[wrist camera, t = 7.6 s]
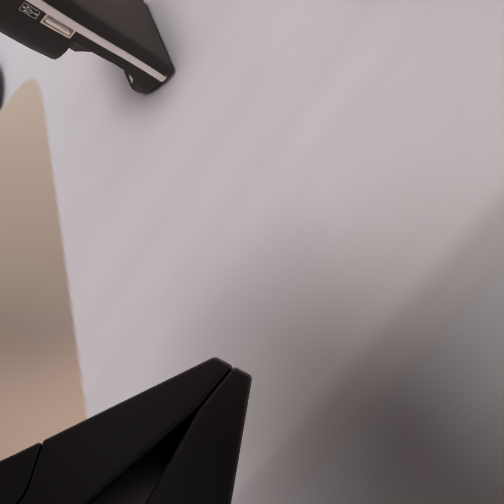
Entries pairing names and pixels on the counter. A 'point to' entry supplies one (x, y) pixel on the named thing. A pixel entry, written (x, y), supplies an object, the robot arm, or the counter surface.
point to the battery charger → (91, 33)
